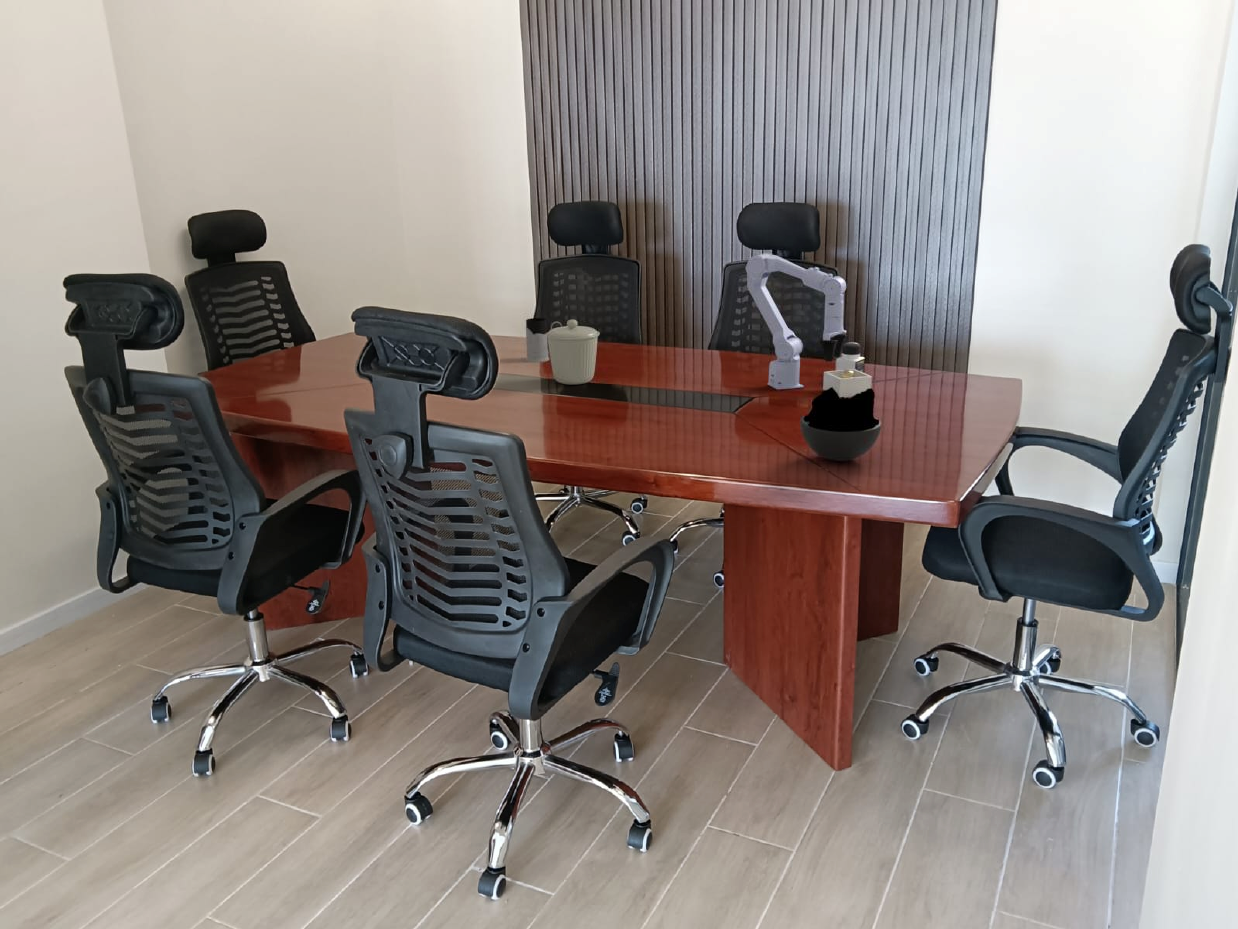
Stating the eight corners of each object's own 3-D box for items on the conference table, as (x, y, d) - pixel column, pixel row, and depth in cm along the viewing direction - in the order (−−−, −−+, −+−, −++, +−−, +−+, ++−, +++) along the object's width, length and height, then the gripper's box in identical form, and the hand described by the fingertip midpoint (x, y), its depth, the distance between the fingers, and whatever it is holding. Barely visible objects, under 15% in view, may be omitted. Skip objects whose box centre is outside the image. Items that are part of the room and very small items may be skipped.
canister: (608, 384, 336) (607, 321, 330) (556, 389, 330) (554, 326, 324) (589, 373, 352) (588, 313, 346) (540, 378, 346) (538, 317, 340)
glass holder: (523, 358, 379) (522, 318, 374) (560, 355, 383) (559, 316, 378) (528, 362, 371) (527, 322, 366) (566, 359, 375) (564, 319, 370)
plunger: (840, 392, 315) (841, 375, 313) (827, 385, 323) (828, 369, 322) (866, 389, 317) (867, 373, 316) (852, 383, 326) (853, 367, 324)
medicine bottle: (854, 382, 334) (856, 346, 331) (834, 379, 338) (836, 344, 335) (863, 377, 340) (865, 342, 336) (844, 375, 344) (846, 340, 340)
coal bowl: (785, 463, 253) (788, 390, 247) (817, 443, 268) (820, 374, 263) (861, 476, 242) (866, 400, 236) (890, 455, 258) (895, 383, 252)
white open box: (839, 397, 314) (840, 379, 313) (823, 389, 325) (823, 371, 323) (870, 395, 317) (871, 376, 315) (853, 387, 327) (854, 369, 325)
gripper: (839, 320, 308) (837, 364, 312) (853, 313, 320) (851, 355, 324) (816, 319, 311) (815, 362, 316) (831, 312, 323) (830, 354, 328)
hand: (832, 358), depth 320 cm, fingers open, 7 cm apart
